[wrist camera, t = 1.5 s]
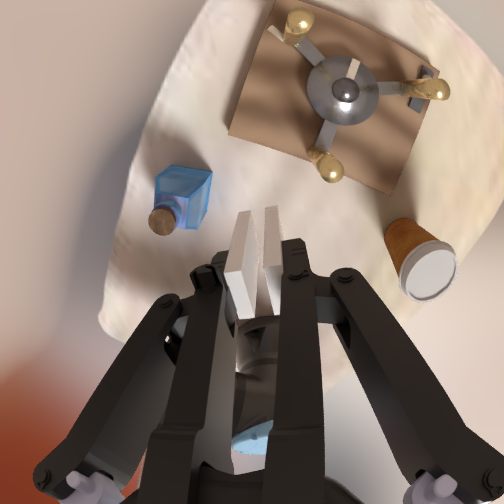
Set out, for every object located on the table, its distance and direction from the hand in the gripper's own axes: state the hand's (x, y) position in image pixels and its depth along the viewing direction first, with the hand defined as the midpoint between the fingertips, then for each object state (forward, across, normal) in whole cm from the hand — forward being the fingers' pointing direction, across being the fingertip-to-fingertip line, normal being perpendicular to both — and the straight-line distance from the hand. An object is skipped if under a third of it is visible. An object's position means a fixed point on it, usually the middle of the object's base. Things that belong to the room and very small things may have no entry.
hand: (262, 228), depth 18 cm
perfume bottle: (+23, -12, -2) cm, 26 cm away
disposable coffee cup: (+23, +20, -16) cm, 34 cm away
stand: (+22, +11, +8) cm, 26 cm away
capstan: (+20, +10, +6) cm, 23 cm away
